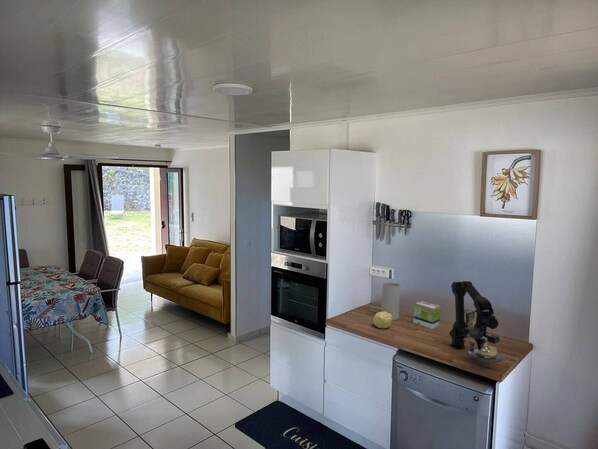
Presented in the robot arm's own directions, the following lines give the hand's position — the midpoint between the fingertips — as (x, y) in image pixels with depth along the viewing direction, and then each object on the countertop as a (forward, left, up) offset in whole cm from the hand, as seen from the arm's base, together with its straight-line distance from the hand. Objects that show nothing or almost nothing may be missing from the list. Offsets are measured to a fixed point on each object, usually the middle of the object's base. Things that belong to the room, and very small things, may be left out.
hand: (479, 350), depth 223 cm
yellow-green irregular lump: (-4, +7, -6) cm, 10 cm away
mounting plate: (-4, +10, -7) cm, 13 cm away
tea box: (-58, +17, -8) cm, 61 cm away
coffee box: (-33, +27, -8) cm, 43 cm away
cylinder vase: (-79, +2, -8) cm, 80 cm away
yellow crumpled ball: (-66, -15, -8) cm, 68 cm away
